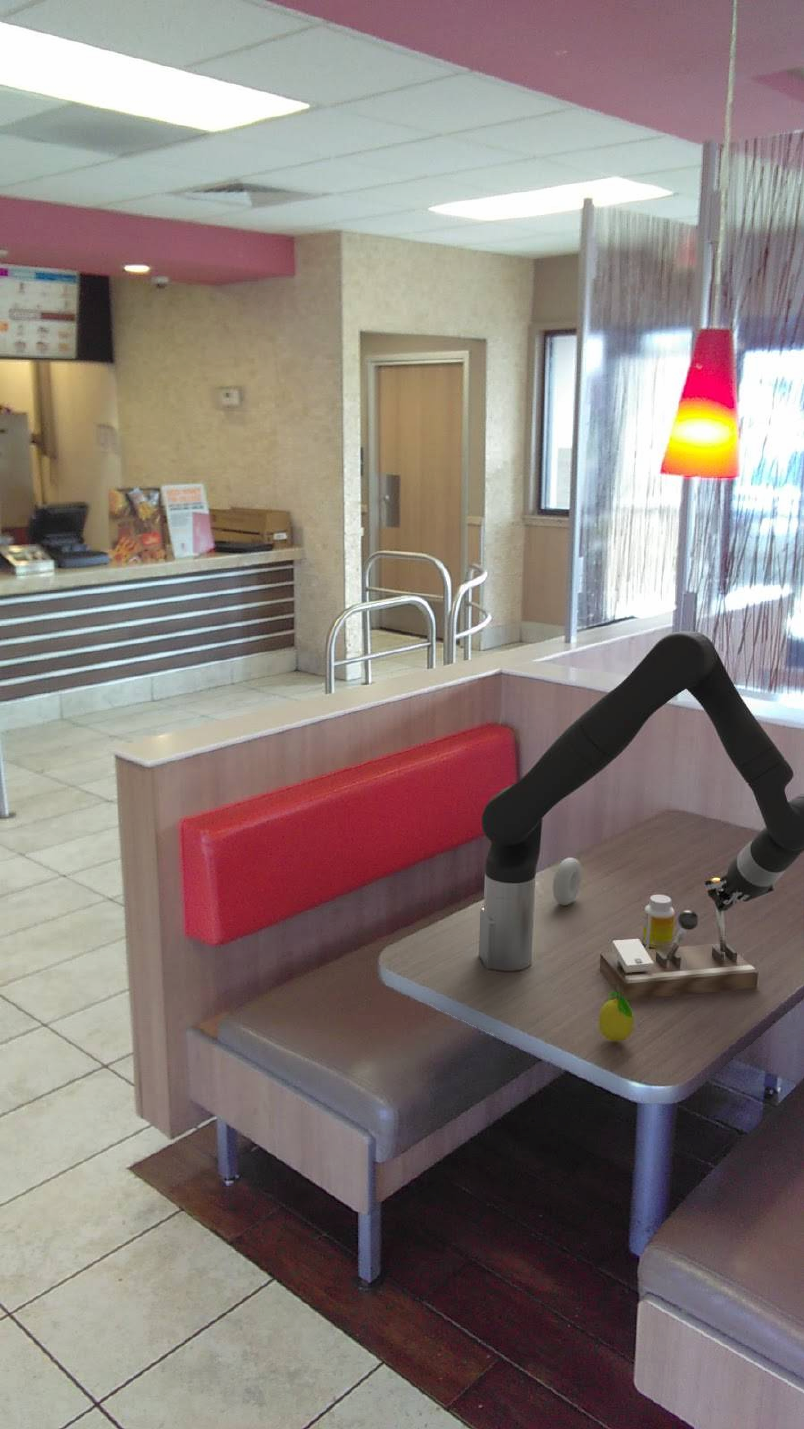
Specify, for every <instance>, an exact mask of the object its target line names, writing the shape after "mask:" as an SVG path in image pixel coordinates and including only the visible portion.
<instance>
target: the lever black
mask: <svg viewBox="0 0 804 1429" xmlns="http://www.w3.org/2000/svg"><path fill="white" fill-rule="evenodd" d="M677 922H678V924H679V927H680V928H679V930H678V932H677V934H676V935H675V938H674V940H673V941H672V946H671V948H670V950H669V952H668V954H667V956H666V958H667V961H672V960H673V958H674V956H675V954H676V952H677V950H678V948H679V947H681V946H680V945H681V944H682V941H683V939H684V937H685V935H686V933H687V931H691V930H694V929H695V928H696V927H697V926H698V923H699V917H698V915H697V913H696V912H694V911H693V910H691V909H686V910H685V909H684V910H682V911H681V912H680V913H679V914H678V916H677Z"/></svg>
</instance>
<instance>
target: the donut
mask: <svg viewBox="0 0 804 1429" xmlns="http://www.w3.org/2000/svg"><path fill="white" fill-rule="evenodd" d="M582 874H583V871H582V865H581V863H580V862H579V861H578V859H576V858H574V857H567V858H564V859H563V860H562V861H561V862H560V863H559V865H558V867H557V869H556V871H555V873H554V878H553V883H552V893H553V897H554V899H555V901H556V902H557V904H560V905H562V906H567V905H570V904H571V903H573V902H574V900H575V899H576V898H577V895H578V894H579V892H580V889H581V884H582V878H583V876H582Z"/></svg>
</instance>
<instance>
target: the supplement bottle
mask: <svg viewBox="0 0 804 1429" xmlns="http://www.w3.org/2000/svg"><path fill="white" fill-rule="evenodd" d="M648 903H649V904H648V905H646V906H645V908H644V915H643V916H644V917H643V929H642V930H643V931H642V945H643V947H644V948H645V950H647V949H659V948H671V946H672V944H673V942H674V940H673V939H674V926H675V910H674V908H673V907H672V899H671V898H670V897H669V896H668V895H665V894H653V895H651V896H650V898H649V902H648Z"/></svg>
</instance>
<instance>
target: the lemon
mask: <svg viewBox="0 0 804 1429" xmlns="http://www.w3.org/2000/svg"><path fill="white" fill-rule="evenodd" d="M616 991H617V992H616ZM615 997H616V998H615ZM634 1017H635V1016H634V1012H633V1010H632V1008H631V1006H630V1003H629V1002H628V1000H626V998H625V997H624V996H623V995H621V994H620V992H619V986H618V990H612V991H611V992H610V993H609V995H608V997H607V999H606V1000H605V1003H604V1004H603V1006H602V1008H601V1009H600V1012H599V1019H598V1027H599V1030H600V1032H601V1034H602V1036H603V1037H604V1038H605V1039H607V1040H609V1041H612V1042H614V1043H618V1042H621V1041H626V1039H628V1038H629V1037H630V1035H631V1034H632V1031H633V1030H634V1022H635V1018H634Z"/></svg>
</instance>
